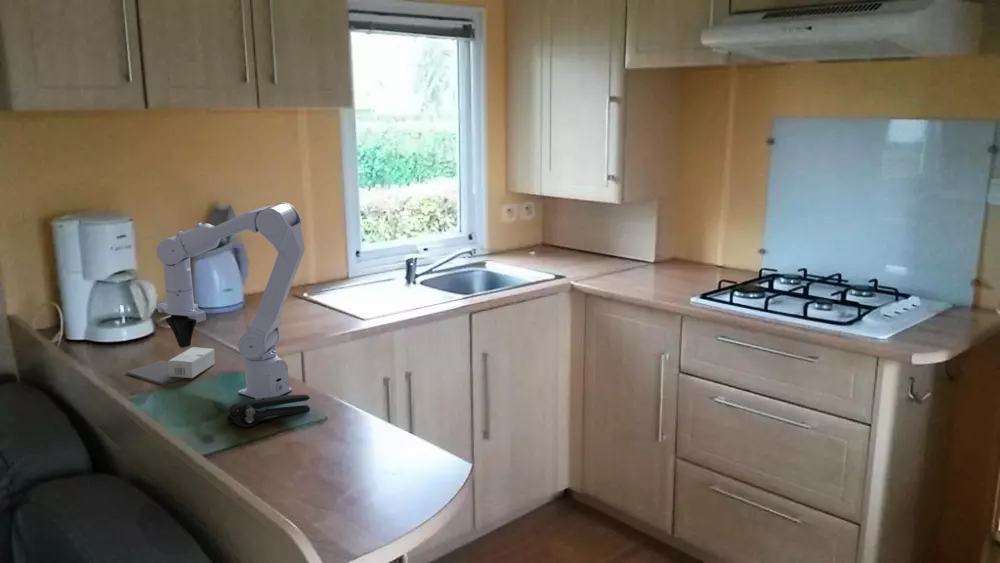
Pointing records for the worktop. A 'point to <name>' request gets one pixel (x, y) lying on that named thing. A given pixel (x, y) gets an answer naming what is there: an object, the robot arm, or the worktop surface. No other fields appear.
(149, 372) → the mat
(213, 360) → the skincare box
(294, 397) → the can opener
